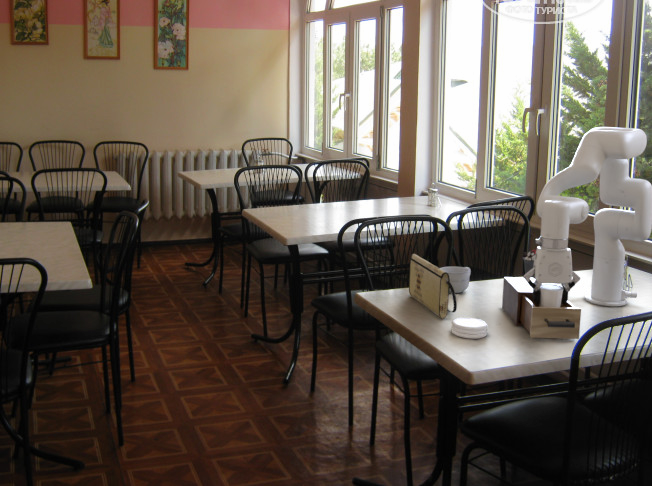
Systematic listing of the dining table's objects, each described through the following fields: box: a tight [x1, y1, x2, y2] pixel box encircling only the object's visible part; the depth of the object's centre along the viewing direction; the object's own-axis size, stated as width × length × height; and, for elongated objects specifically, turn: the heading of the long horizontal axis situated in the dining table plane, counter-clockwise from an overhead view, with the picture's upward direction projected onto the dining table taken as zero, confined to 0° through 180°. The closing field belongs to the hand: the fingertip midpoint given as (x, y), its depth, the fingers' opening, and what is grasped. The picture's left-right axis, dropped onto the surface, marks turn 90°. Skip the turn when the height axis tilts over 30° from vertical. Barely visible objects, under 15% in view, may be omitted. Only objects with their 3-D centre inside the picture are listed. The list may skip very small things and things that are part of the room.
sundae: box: [521, 245, 539, 278], centre depth 266 cm, size 7×7×15 cm
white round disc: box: [451, 316, 488, 340], centre depth 214 cm, size 10×10×4 cm
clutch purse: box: [408, 253, 458, 320], centre depth 239 cm, size 30×7×15 cm, turn 12°
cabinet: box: [501, 276, 560, 327], centre depth 229 cm, size 18×15×11 cm
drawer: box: [519, 295, 582, 340], centre depth 213 cm, size 22×13×9 cm, turn 178°
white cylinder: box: [539, 284, 563, 307], centre depth 213 cm, size 7×7×7 cm
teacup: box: [439, 266, 472, 294], centre depth 259 cm, size 14×11×8 cm
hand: (549, 302), depth 214 cm, fingers closed on white cylinder, 6 cm apart
